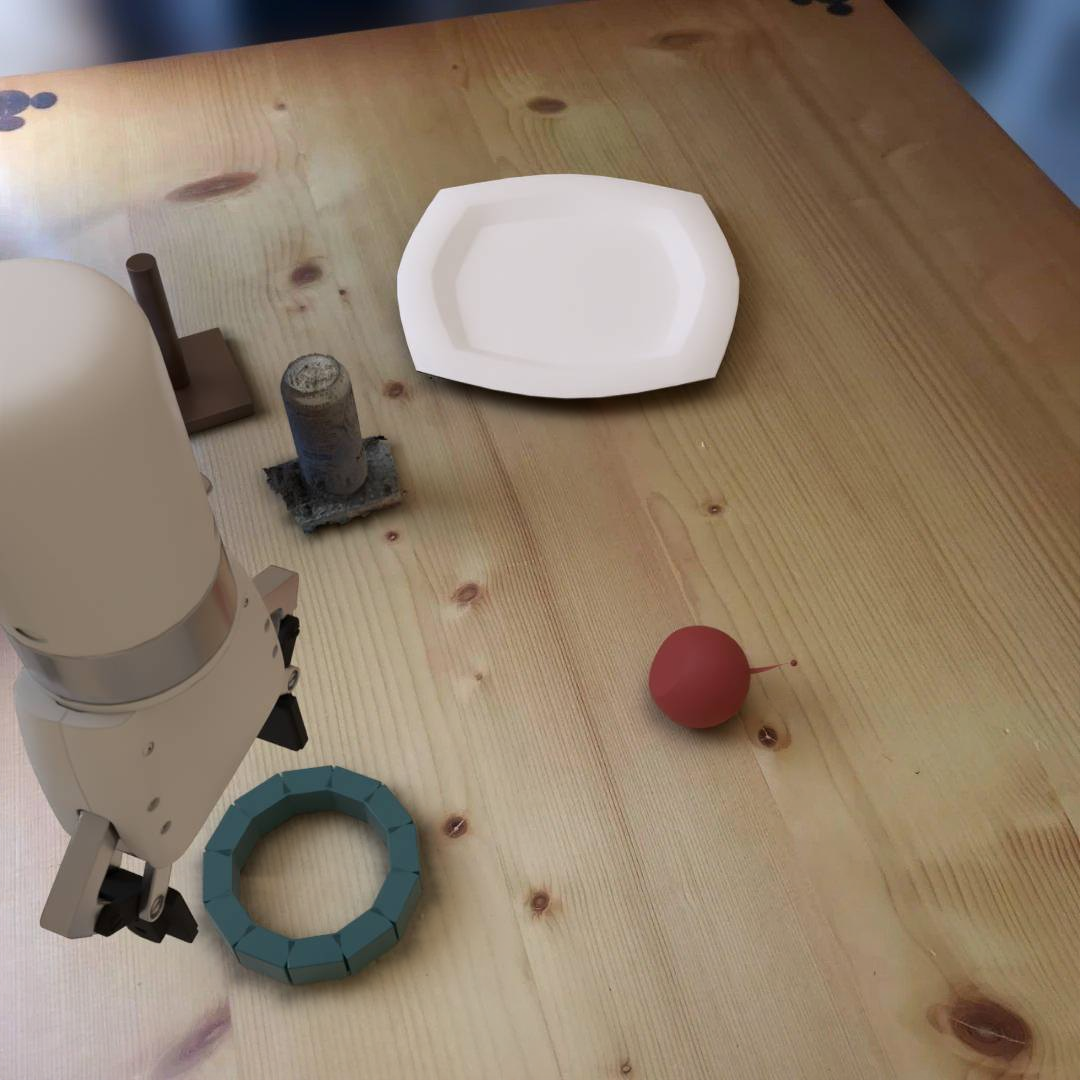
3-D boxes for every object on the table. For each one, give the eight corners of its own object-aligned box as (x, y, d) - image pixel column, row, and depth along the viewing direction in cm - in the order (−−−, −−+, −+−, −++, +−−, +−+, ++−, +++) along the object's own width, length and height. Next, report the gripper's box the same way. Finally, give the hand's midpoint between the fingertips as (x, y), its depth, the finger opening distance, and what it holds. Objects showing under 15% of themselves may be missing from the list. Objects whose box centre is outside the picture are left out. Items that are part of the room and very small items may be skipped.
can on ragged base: (308, 551, 87) (281, 426, 78) (261, 478, 91) (229, 350, 82) (427, 497, 90) (414, 371, 81) (376, 429, 94) (358, 301, 85)
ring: (364, 1016, 68) (359, 999, 66) (171, 937, 70) (161, 919, 69) (454, 826, 75) (452, 806, 73) (274, 761, 77) (268, 740, 75)
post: (133, 451, 93) (88, 321, 84) (105, 371, 98) (59, 240, 89) (255, 414, 95) (224, 283, 86) (221, 338, 101) (188, 207, 91)
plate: (726, 195, 112) (729, 175, 111) (748, 420, 95) (751, 400, 94) (414, 189, 113) (413, 169, 111) (381, 411, 96) (378, 392, 94)
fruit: (714, 760, 80) (797, 708, 74) (636, 726, 78) (715, 670, 72) (719, 677, 83) (799, 621, 78) (645, 642, 82) (721, 583, 76)
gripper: (161, 399, 50) (245, 649, 63) (-138, 774, 40) (36, 977, 53) (335, 450, 48) (384, 696, 62) (68, 855, 38) (195, 1044, 52)
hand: (223, 826), depth 58 cm, fingers open, 9 cm apart
